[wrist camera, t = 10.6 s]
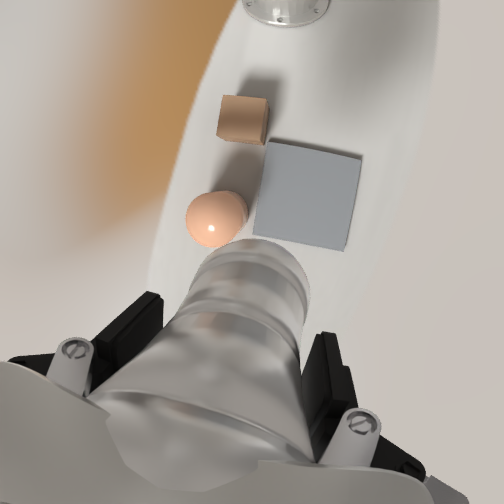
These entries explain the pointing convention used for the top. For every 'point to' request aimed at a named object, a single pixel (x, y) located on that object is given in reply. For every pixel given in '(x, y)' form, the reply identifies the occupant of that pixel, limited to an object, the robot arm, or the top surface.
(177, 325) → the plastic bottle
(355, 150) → the top surface
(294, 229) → the slate mat
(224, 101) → the copper block
